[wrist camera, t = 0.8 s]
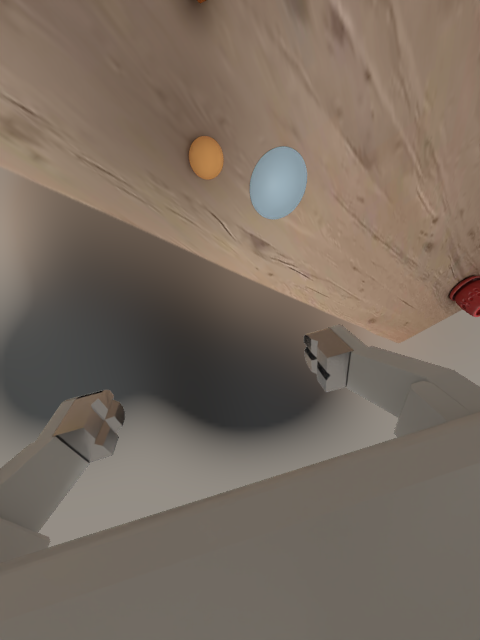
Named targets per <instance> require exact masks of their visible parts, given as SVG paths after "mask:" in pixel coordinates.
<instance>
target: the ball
mask: <svg viewBox="0 0 480 640" xmlns="http://www.w3.org/2000/svg"><path fill="white" fill-rule="evenodd" d="M189 161H190V165H191V167H192V169H193V171H194V172H195V173H196V174H197V175H198V176H199V177H201V178H203V179H207V180H209V179H213V178H215V177H216V176H218V175H219V173H220V172H221V170H222V167H223V153H222V150H221V147H220V146H219V144H218V143H217V142H216V141H215V140H214V139H213V138H211V137H208V136H201V137H198V138H197V139H195V140H194V141H193V143H192V144H191V147H190V150H189Z"/></svg>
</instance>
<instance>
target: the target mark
mask: <svg viewBox="0 0 480 640" xmlns="http://www.w3.org/2000/svg"><path fill="white" fill-rule="evenodd" d="M306 183H307V170H306V165H305V162H304V160H303V158H302V157H301V155H300V154H299V153H298V152H297V151H296V150H294V149H292V148H290V147H276V148H274V149H272V150H270V151H268V152H267V153H266V154H265V155H264V156H263V157H262V158H261V159H260V160H259V161H258V163H257V165H256V166H255V168H254V171H253V173H252V176H251V181H250V197H251V201H252V204H253V206H254V208H255V209H256V211H257V212H258V213H259V214H260V215H261V216H263V217H265V218H268V219H279V218H282V217H285V216H286V215H288V214H289V213H291V212H292V211H293V210H294V209H295V208H296V207H297V205H298V204H299V202H300V201H301V199H302V197H303V194H304V192H305V188H306Z"/></svg>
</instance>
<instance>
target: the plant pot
mask: <svg viewBox="0 0 480 640" xmlns="http://www.w3.org/2000/svg"><path fill="white" fill-rule="evenodd" d="M450 299H451V300H453V301H456V303H457V304H458V305H459V306H460V307H461V308H462V309H463V310H465V311H466V312H467V313H469V314H470V315H472V316H474V317H479V316H480V276H473V277H469V278H467V279H465V280H463V281H462V282H460V283H459V284H458V285H457V286H456V287H455V288H454V289H453V290H452V291H451V293H450Z"/></svg>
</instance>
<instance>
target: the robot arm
mask: <svg viewBox="0 0 480 640" xmlns="http://www.w3.org/2000/svg"><path fill="white" fill-rule="evenodd" d="M304 343H305V344H306V346H307V347H306V349H305V350H304V354H305V359H306V362H307V365H308V367H309V368H310V370H311V371H312V372H314V373H316V374H317V380H318V382H319V383H320V384H321V386H322V387H323V389H324V390H325V392H329V391H332V390H336V389H340V388H344V387H347V388H348V389H350V390H351V391H353V392H355V393H356V394H358V395H360V396H362V397H363V398H365V399H367V400H368V401H370V402H372V403H374V404H375V405H377V406H379V407H381V408H383V409H384V410H386V411H388V412H389V413H391V414H393V415H394V416H396V417H398V422H397V424H396V427H395V430H394V434H395V435H396V436H397V437H398V438H394V439H391V440H388V441H385V442H382V443H379V444H375V445H373V446H369V447H366V448H363V449H360V450H357V451H354V452H350V453H347V454H344V455H341V456H337V457H334V458H331V459H328V460H325V461H321V462H319V463H315V464H312V465H309V466H306V467H302V468H299V469H296V470H293V471H290V472H287V473H283V474H281V475H277V476H274V477H271V478H268V479H264V480H261V481H259V482H255V483H252V484H249V485H245V486H243V487H239V488H236V489H233V490H230V491H226V492H223V493H220V494H217V495H214V496H211V497H207V498H204V499H201V500H198V501H195V502H192V503H188V504H185V505H182V506H179V507H176V508H172V509H169V510H166V511H163V512H160V513H157V514H153V515H150V516H147V517H144V518H141V519H138V520H135V521H131V522H128V523H125V524H122V525H119V526H115V527H112V528H109V529H106V530H103V531H99V532H97V533H93V534H90V535H87V536H84V537H80V538H77V539H74V540H71V541H68V542H65V543H62V544H58V545H55V546H52V547H49V548H48V545H49V543H50V539H49V537H47V536H45V535H42V534H40V533H38V532H39V530H40V529H41V528H42V527H43V525H44V524H45V523H46V521H47V520H48V519H49V517H50V516H51V515H52V513H53V512H54V511H55V509H56V508H57V507H58V505H59V504H60V503H61V501H62V500H63V499H64V497H65V496H66V495H67V493H68V492H69V491H70V489H71V488H72V487H73V485H74V484H75V483H76V481H77V480H78V479H79V478H80V476H81V475H82V474H83V472H84V471H85V470H86V468H87V467H88V465H89V463H90V462H93V461H96V460H99V459H102V458H106V457H109V456H112V455H113V453H114V450H115V447H116V444H117V441H118V438H119V437H118V434H117V432H118V431H119V430H120V428H121V427H122V426H123V423H124V420H125V411H124V408H123V406H122V405H121V403H120V402H117V401H115V400H113V398H114V395H113V394H112V392H111V391H110V390H102V391H98V392H94V393H91V394H86V395H82V396H79V397H75V398H72V399H67V400H66V401H64V402H62V403H61V405H60V407H59V408H58V409H57V411H56V412H55V414H54V415H53V416H52V418H51V420H50V421H49V422H48V424H47V425H46V427H45V428H44V430H43V431H42V433H41V434H40V435H39V437H38V438H37V440H36V441H35V442H34V443H31V444H29V445H28V446H27V447H26V448H24V449H23V450H22V451H21V452H20V453H18V454H17V455H16V456H15V457H14V458H12V459H11V460H10V461H9V462H8V463H6V464H5V465H4V466H3V467H2V468H0V640H480V387H479V386H478V385H476V384H475V383H473V382H471V381H470V380H468V379H467V378H465V377H464V376H462V375H460V374H459V373H458V372H456V371H454V370H451V369H448V368H444V367H441V366H438V365H435V364H431V363H428V362H424V361H421V360H418V359H414V358H411V357H407V356H404V355H401V354H397V353H394V352H391V351H387V350H384V349H381V348H377V347H374V346H370V347H368V346H366V345H365V344H364V343H363V342H362V341H360V340H359V339H358V338H357V337H356V336H354V335H353V334H352V333H351V332H350V331H348V330H347V329H346V328H345V327H344V326H342V325H335V326H332V327H328V328H326V329H323V330H319V331H316V332H312V333H308V334H305V336H304Z"/></svg>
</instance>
